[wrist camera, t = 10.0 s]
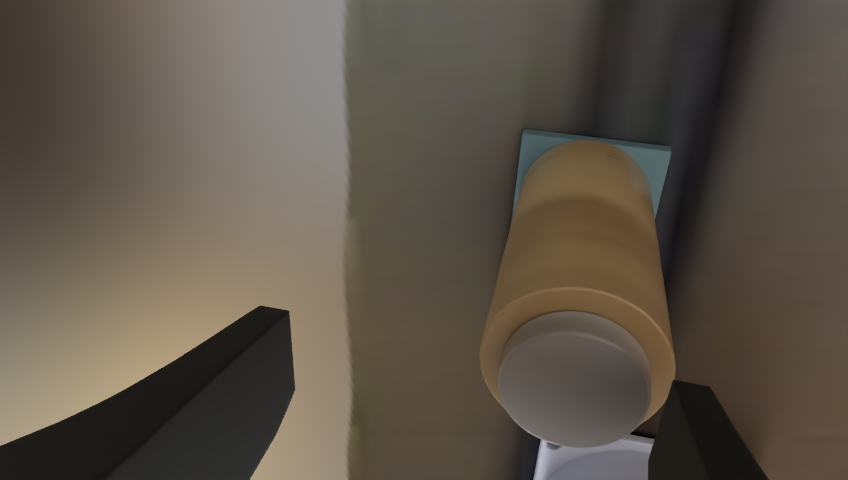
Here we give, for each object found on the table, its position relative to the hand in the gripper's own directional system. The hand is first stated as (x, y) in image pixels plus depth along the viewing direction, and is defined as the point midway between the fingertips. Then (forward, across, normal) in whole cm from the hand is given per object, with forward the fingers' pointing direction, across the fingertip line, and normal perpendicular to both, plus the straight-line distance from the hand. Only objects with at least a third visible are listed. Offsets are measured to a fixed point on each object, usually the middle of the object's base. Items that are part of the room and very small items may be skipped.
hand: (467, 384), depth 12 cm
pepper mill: (+10, -2, +1) cm, 10 cm away
